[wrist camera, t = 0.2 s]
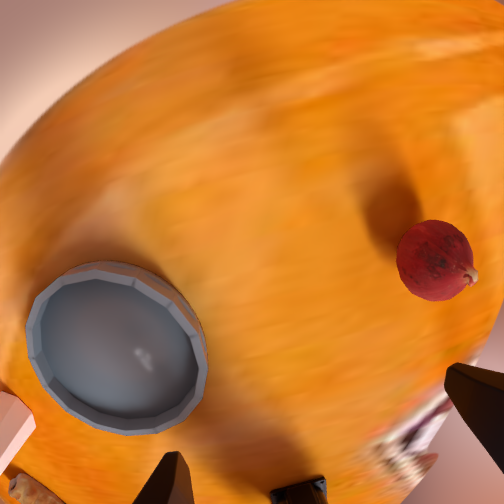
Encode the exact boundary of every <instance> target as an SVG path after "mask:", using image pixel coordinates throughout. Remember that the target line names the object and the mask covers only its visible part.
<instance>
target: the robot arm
mask: <svg viewBox="0 0 504 504" xmlns="http://www.w3.org/2000/svg"><path fill="white" fill-rule="evenodd" d="M444 388H445V391H446V393H447V394H448V396H449V397H450V399H451V401H452V402H453V404H454V405H455V407H456V409H457V410H458V412H459V414H460V415H461V417H462V418H463V420H464V421H465V423H466V424H467V425H468V427H469V428H470V429H471V431H472V432H473V433H474V435H475V436H476V437H477V439H478V440H479V441H480V443H481V444H482V445H483V446H484V448H485V449H486V450H487V452H488V453H489V455H490V456H491V457H492V459H493V460H494V461H495V463H496V464H497V465H498V467H499V468H500V470H501V471H502V472H503V474H504V373H500V372H495V371H491V370H487V369H482V368H478V367H475V366H470V365H466V364H462V363H455V364H453V365H451V366H449V367H448V368H447V371H446V377H445V382H444ZM270 496H271V499H272V502H273V504H328V502H327V491H326V479H325V478H324V477H322V478H319V479H315V480H312V481H308V482H305V483H301V484H297V485H293V486H290V487H286V488H281V489H277V490H273V491H271V492H270ZM132 504H194V498H193V491H192V484H191V477H190V471H189V467H188V465H187V463H186V462H185V460H184V458H183V456H182V455H181V453H180V452H178V451H174V452H167V453H165V455H164V456H163V458H162V459H161V461H160V462H159V464H158V465H157V467H156V468H155V470H154V472H153V473H152V475H151V476H150V478H149V479H148V481H147V482H146V484H145V485H144V487H143V488H142V490H141V491H140V493H139V494H138V496H137V497H136V499H135V500H134V502H133V503H132Z"/></svg>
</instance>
